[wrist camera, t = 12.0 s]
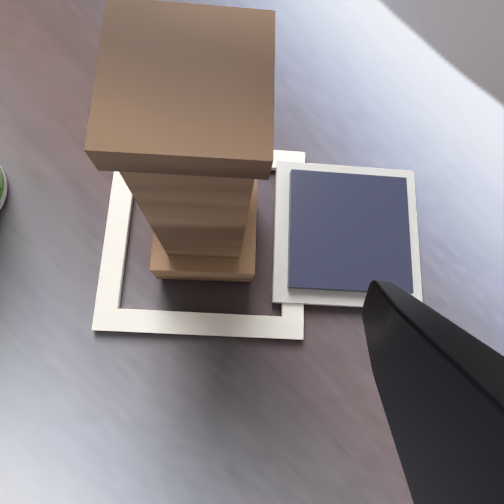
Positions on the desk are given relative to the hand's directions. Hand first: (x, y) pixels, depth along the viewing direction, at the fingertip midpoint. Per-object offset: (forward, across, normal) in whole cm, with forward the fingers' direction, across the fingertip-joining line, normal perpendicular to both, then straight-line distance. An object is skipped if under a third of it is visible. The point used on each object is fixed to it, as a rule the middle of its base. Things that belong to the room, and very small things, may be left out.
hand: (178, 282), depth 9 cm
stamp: (+13, 0, +6) cm, 14 cm away
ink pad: (+13, -8, +5) cm, 16 cm away
